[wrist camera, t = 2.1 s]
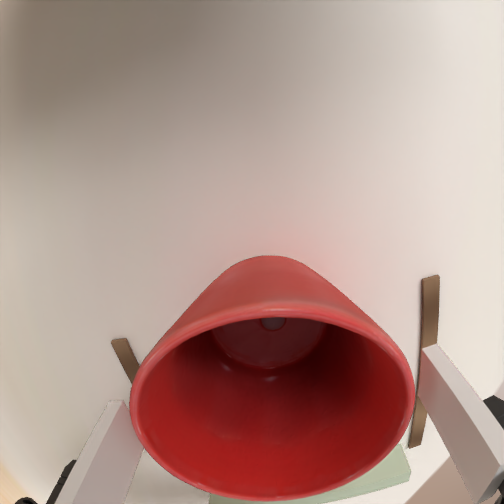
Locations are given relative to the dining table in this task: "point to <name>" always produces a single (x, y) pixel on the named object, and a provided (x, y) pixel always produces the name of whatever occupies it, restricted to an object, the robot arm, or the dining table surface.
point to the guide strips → (427, 339)
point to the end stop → (378, 478)
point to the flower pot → (272, 387)
